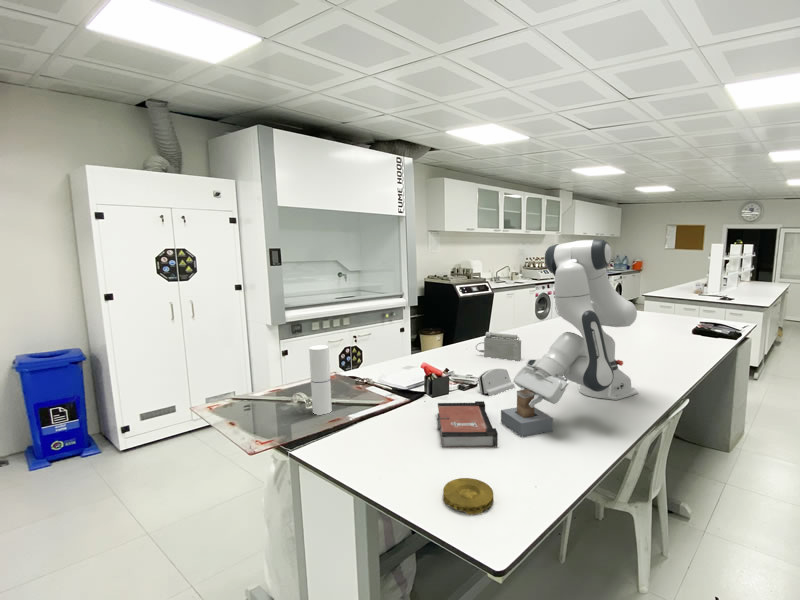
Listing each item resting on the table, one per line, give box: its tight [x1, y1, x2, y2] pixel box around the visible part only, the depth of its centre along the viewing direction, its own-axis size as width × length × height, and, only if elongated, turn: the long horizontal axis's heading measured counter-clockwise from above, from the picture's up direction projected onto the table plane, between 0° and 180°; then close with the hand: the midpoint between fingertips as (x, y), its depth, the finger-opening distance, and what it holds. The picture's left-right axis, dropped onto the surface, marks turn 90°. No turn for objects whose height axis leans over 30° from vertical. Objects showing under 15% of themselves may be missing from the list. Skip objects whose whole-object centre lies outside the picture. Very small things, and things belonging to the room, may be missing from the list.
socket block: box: [500, 406, 554, 438], centre depth 142 cm, size 12×12×4 cm
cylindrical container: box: [308, 344, 333, 416], centre depth 158 cm, size 7×7×25 cm
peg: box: [516, 389, 535, 418], centre depth 141 cm, size 4×4×9 cm
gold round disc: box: [442, 477, 494, 515], centre depth 102 cm, size 12×12×2 cm
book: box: [437, 400, 499, 448], centre depth 141 cm, size 26×18×5 cm
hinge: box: [477, 368, 516, 397], centre depth 178 cm, size 17×5×10 cm, turn 127°
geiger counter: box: [475, 331, 522, 362], centre depth 228 cm, size 14×6×25 cm
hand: (524, 403), depth 141 cm, fingers closed on peg, 4 cm apart
